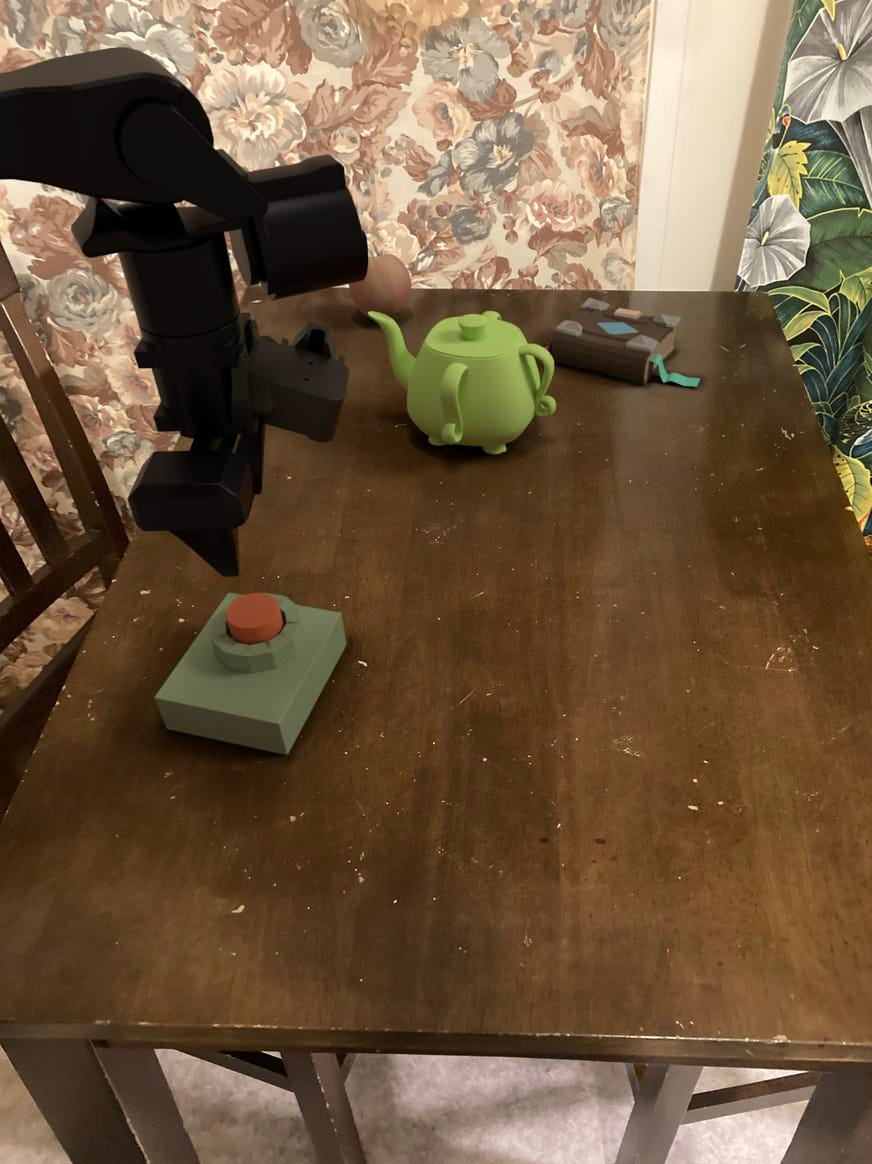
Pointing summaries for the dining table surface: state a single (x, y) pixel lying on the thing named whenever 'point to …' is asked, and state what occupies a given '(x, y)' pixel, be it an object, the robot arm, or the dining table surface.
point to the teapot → (471, 380)
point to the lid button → (254, 618)
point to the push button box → (253, 678)
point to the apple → (382, 286)
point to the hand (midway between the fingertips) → (243, 532)
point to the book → (617, 343)
